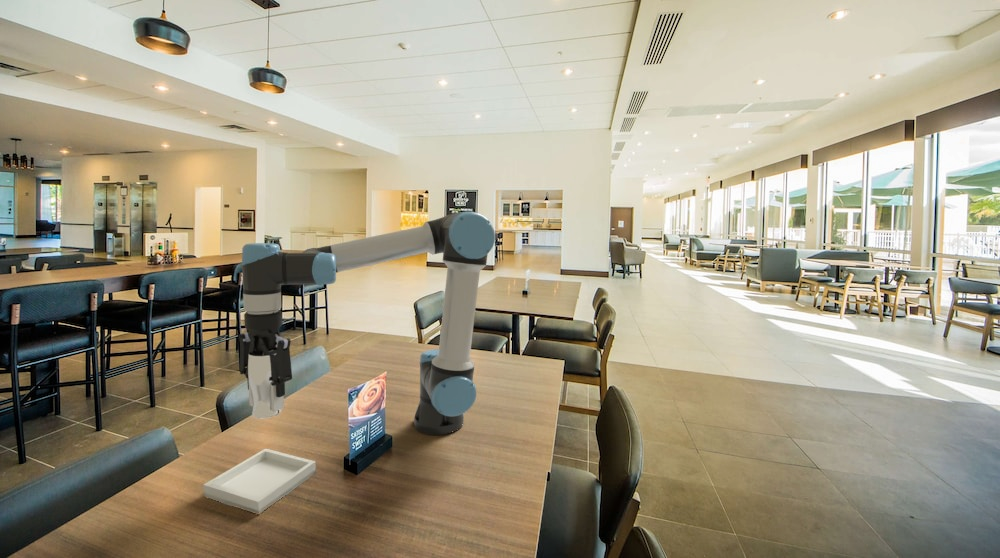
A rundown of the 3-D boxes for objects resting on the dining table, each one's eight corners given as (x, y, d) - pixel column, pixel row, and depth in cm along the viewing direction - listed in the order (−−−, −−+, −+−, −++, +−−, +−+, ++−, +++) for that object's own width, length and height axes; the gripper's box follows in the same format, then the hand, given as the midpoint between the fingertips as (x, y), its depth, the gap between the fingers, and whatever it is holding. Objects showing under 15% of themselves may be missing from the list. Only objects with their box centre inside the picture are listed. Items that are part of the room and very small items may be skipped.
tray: (316, 472, 102) (315, 461, 101) (259, 515, 87) (258, 502, 86) (266, 459, 107) (265, 448, 106) (204, 497, 92) (203, 484, 91)
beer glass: (268, 421, 94) (265, 357, 92) (242, 417, 96) (239, 354, 94) (290, 408, 101) (288, 349, 99) (266, 405, 103) (263, 346, 101)
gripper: (308, 312, 95) (310, 407, 98) (247, 303, 102) (251, 393, 105) (281, 318, 88) (284, 421, 91) (217, 309, 95) (222, 405, 98)
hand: (266, 406), depth 98 cm, fingers closed on beer glass, 6 cm apart
